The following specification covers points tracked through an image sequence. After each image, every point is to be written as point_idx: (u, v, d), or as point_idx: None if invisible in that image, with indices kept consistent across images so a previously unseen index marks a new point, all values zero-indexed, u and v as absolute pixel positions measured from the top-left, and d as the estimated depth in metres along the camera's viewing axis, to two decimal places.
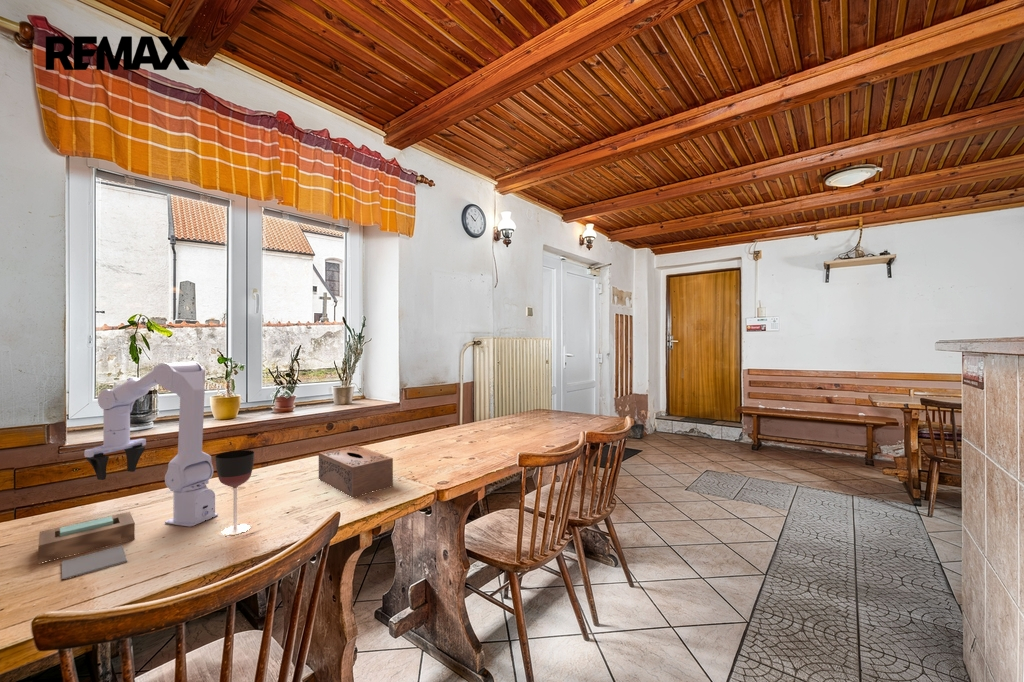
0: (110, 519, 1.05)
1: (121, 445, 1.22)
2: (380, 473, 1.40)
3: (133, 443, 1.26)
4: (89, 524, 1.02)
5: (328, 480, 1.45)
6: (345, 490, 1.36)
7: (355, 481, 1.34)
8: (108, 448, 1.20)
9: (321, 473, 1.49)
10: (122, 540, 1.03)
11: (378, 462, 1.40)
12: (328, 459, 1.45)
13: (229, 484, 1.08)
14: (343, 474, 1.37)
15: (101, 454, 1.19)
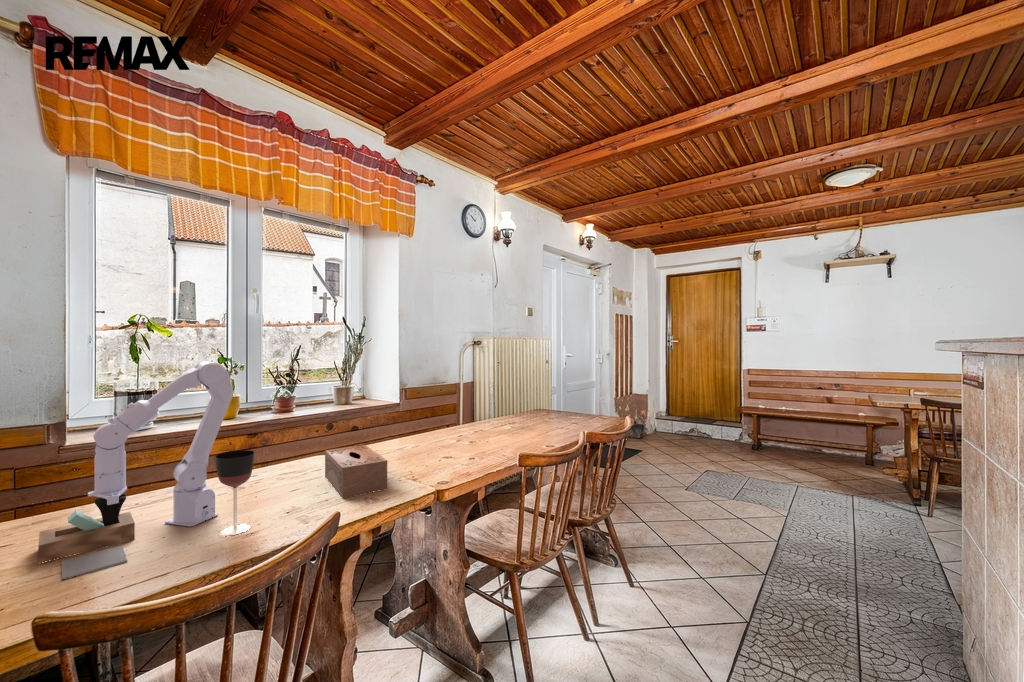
0: None
1: (126, 486, 1.07)
2: (373, 475, 1.38)
3: None
4: (96, 522, 1.03)
5: (329, 478, 1.47)
6: (338, 490, 1.37)
7: (345, 481, 1.33)
8: (122, 491, 1.05)
9: (326, 471, 1.52)
10: (122, 540, 1.03)
11: (371, 464, 1.38)
12: (330, 457, 1.47)
13: (229, 484, 1.08)
14: (337, 474, 1.38)
15: None
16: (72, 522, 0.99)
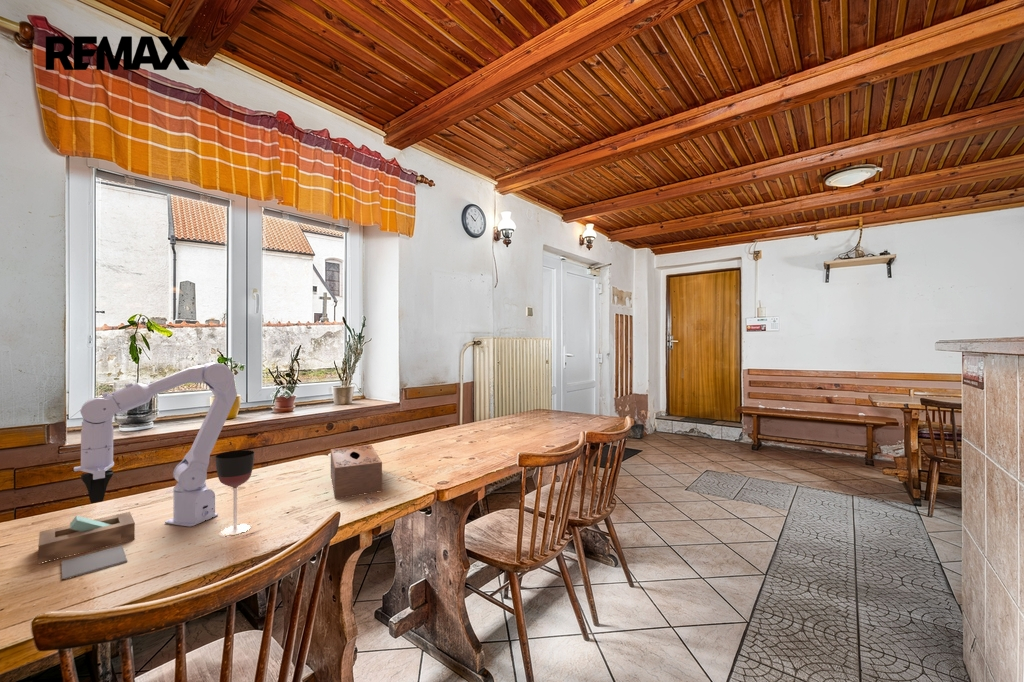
0: None
1: (113, 462, 1.05)
2: (366, 476, 1.37)
3: None
4: (100, 524, 1.04)
5: None
6: None
7: (338, 482, 1.33)
8: (109, 466, 1.03)
9: None
10: (122, 540, 1.03)
11: (364, 465, 1.36)
12: None
13: (229, 484, 1.08)
14: None
15: None
16: (74, 528, 0.99)
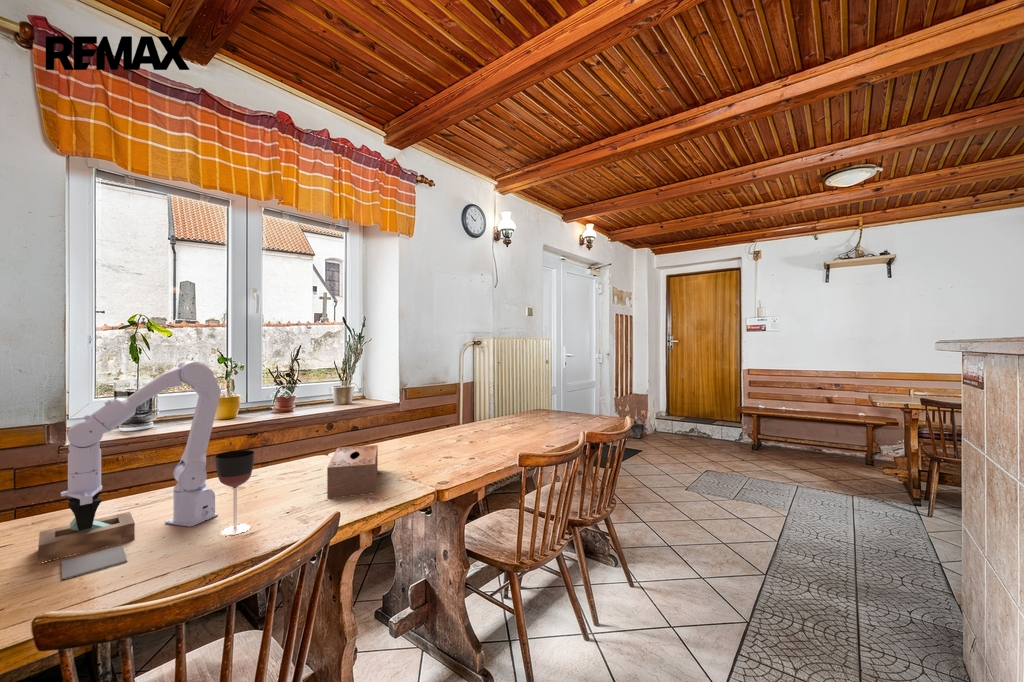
0: None
1: (101, 486, 1.04)
2: (359, 478, 1.36)
3: None
4: (100, 524, 1.04)
5: None
6: None
7: (330, 481, 1.33)
8: (97, 491, 1.01)
9: None
10: (122, 540, 1.03)
11: (357, 466, 1.35)
12: None
13: (229, 484, 1.08)
14: None
15: None
16: (74, 528, 0.99)
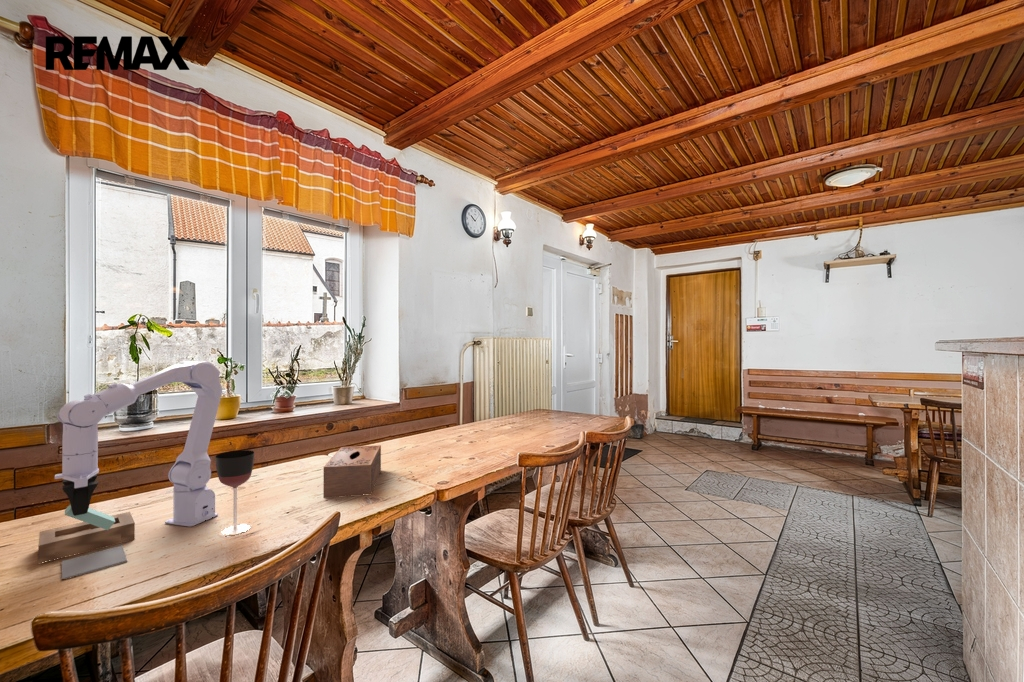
0: (113, 519, 1.00)
1: (98, 469, 0.98)
2: (355, 478, 1.35)
3: None
4: (96, 513, 0.98)
5: None
6: None
7: (327, 481, 1.34)
8: (93, 474, 0.96)
9: None
10: (122, 540, 1.03)
11: (353, 466, 1.35)
12: None
13: (229, 484, 1.08)
14: None
15: None
16: (69, 514, 0.94)
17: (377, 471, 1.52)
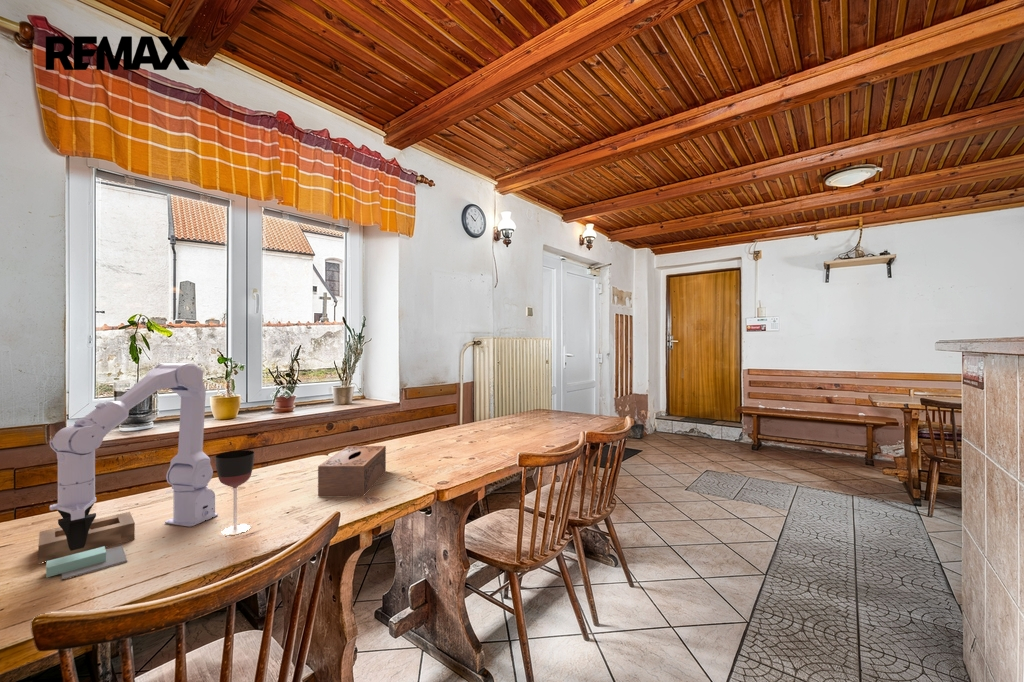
0: (103, 550, 0.95)
1: (95, 498, 0.94)
2: (348, 479, 1.35)
3: None
4: (79, 556, 0.92)
5: None
6: None
7: (321, 480, 1.34)
8: (90, 504, 0.91)
9: None
10: (122, 540, 1.03)
11: (346, 467, 1.34)
12: None
13: (229, 484, 1.08)
14: None
15: None
16: (51, 574, 0.88)
17: (378, 472, 1.51)
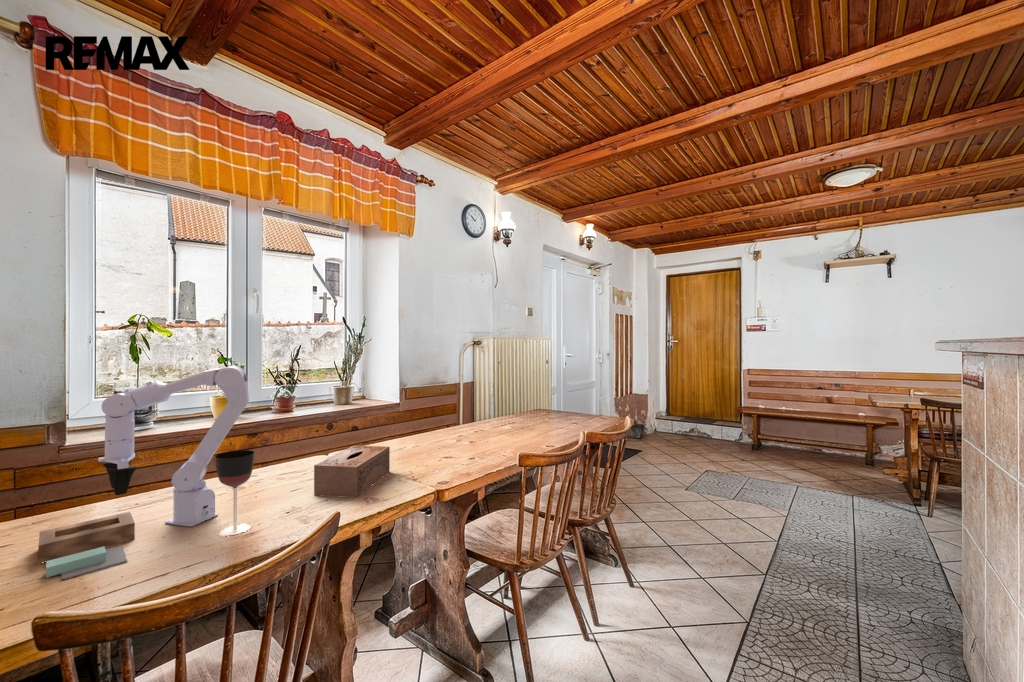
0: (103, 550, 0.95)
1: (134, 454, 1.12)
2: (342, 479, 1.34)
3: None
4: (79, 556, 0.92)
5: None
6: None
7: (317, 479, 1.35)
8: (131, 457, 1.10)
9: None
10: (122, 540, 1.03)
11: (340, 467, 1.34)
12: None
13: (229, 484, 1.08)
14: None
15: None
16: (51, 574, 0.88)
17: (378, 473, 1.50)
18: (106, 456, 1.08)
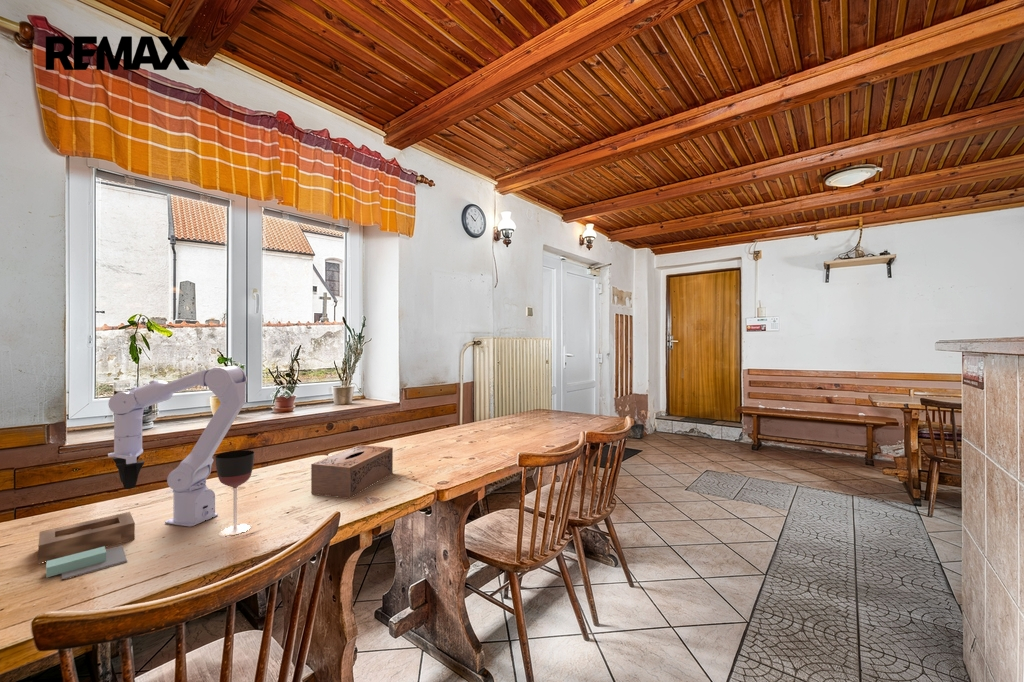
0: (103, 550, 0.95)
1: (142, 449, 1.16)
2: (337, 479, 1.34)
3: None
4: (79, 556, 0.92)
5: None
6: None
7: (314, 478, 1.36)
8: (139, 453, 1.14)
9: None
10: (122, 540, 1.03)
11: (335, 467, 1.34)
12: None
13: (229, 484, 1.08)
14: None
15: None
16: (51, 574, 0.88)
17: (378, 474, 1.49)
18: (115, 451, 1.12)
